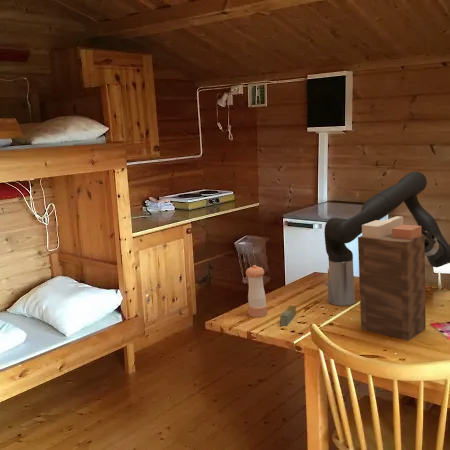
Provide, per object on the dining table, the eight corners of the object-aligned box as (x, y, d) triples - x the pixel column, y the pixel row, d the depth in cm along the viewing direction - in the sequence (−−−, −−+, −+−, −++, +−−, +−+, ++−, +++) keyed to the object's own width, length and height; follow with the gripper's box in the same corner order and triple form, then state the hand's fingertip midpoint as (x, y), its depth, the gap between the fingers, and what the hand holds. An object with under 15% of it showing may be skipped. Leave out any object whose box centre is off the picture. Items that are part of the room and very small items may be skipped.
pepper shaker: (244, 315, 207) (240, 266, 204) (256, 309, 213) (253, 261, 209) (259, 318, 202) (255, 269, 199) (271, 312, 208) (268, 264, 204)
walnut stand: (379, 318, 193) (376, 230, 187) (425, 328, 181) (424, 234, 175) (361, 329, 185) (357, 237, 179) (408, 340, 173) (406, 242, 167)
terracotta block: (402, 233, 179) (402, 224, 179) (421, 235, 175) (421, 226, 174) (392, 237, 175) (391, 228, 174) (411, 239, 170) (411, 230, 169)
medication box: (287, 327, 193) (286, 316, 192) (279, 326, 194) (279, 316, 193) (296, 315, 204) (295, 305, 203) (289, 314, 205) (288, 304, 204)
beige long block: (392, 225, 193) (391, 214, 192) (408, 226, 188) (408, 215, 188) (362, 237, 179) (361, 225, 178) (378, 238, 175) (378, 226, 174)
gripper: (409, 232, 211) (391, 218, 200) (445, 235, 201) (428, 221, 190) (405, 251, 210) (386, 237, 199) (441, 255, 200) (424, 241, 189)
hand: (407, 229), depth 194 cm, fingers open, 8 cm apart
